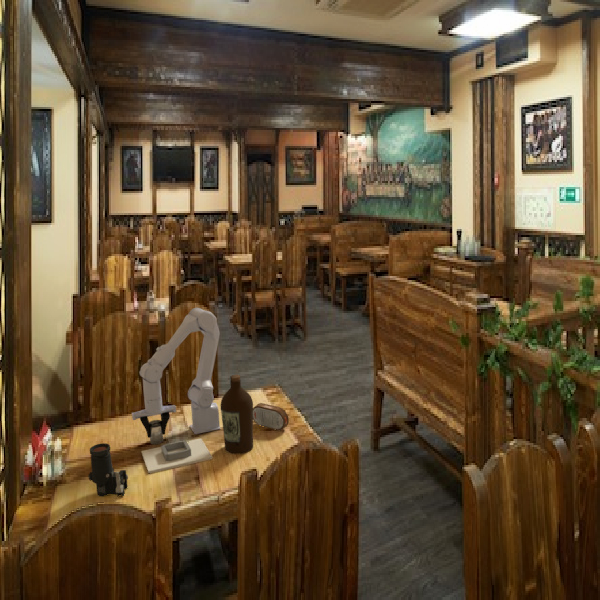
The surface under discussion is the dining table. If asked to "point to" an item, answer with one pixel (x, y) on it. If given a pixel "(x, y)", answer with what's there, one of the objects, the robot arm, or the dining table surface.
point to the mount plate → (175, 455)
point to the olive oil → (237, 418)
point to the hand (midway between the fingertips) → (156, 434)
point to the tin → (270, 416)
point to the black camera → (106, 472)
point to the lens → (156, 432)
